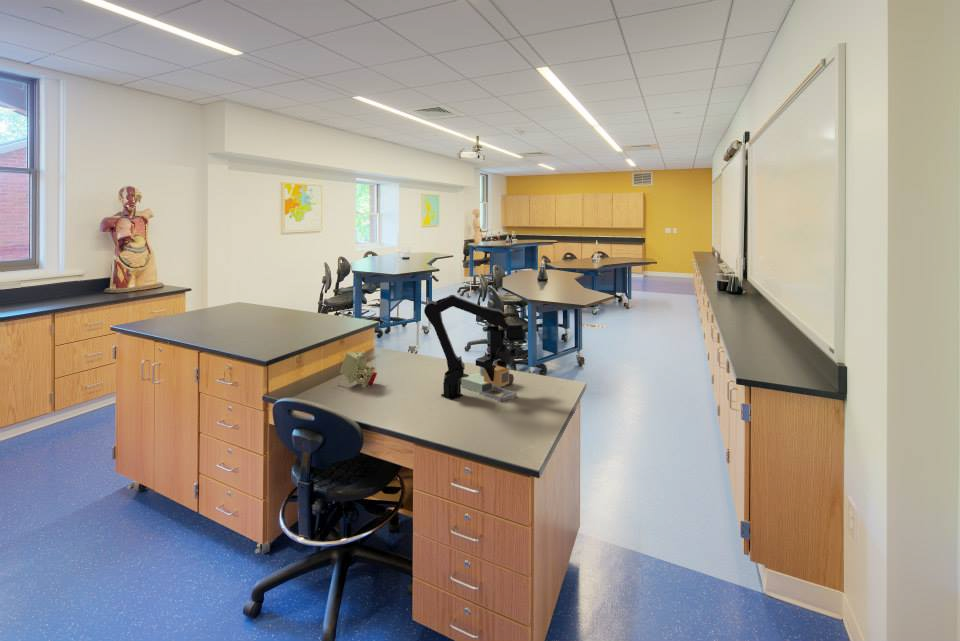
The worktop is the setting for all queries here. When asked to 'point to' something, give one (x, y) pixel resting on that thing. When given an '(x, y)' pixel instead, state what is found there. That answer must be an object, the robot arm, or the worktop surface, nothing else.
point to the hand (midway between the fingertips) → (496, 379)
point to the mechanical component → (357, 369)
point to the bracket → (510, 395)
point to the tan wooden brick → (498, 376)
